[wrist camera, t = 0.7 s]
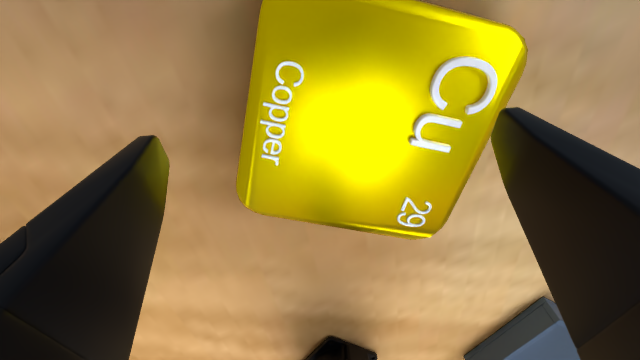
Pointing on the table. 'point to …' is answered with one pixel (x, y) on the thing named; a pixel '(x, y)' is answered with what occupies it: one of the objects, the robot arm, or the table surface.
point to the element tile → (371, 111)
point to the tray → (529, 337)
